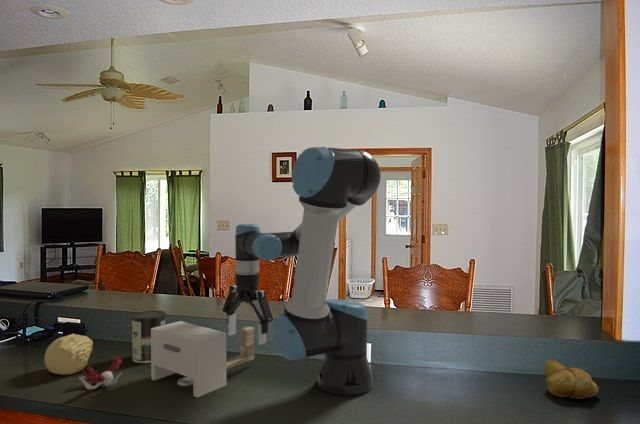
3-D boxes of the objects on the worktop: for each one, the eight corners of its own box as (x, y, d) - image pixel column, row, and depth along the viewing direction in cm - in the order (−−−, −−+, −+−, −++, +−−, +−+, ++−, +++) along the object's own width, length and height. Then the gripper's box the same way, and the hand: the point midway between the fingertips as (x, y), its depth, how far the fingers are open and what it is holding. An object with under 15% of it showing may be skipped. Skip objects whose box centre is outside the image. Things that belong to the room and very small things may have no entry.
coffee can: (172, 353, 154) (172, 311, 154) (155, 364, 144) (154, 319, 144) (144, 351, 156) (143, 309, 156) (125, 362, 146) (124, 317, 146)
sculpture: (73, 380, 132) (73, 342, 132) (35, 377, 134) (35, 340, 134) (99, 365, 143) (98, 330, 143) (63, 363, 145) (63, 328, 145)
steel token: (199, 381, 131) (199, 378, 131) (187, 388, 127) (187, 384, 127) (186, 379, 134) (186, 375, 134) (173, 385, 129) (173, 381, 129)
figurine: (96, 374, 136) (96, 352, 136) (134, 376, 135) (134, 353, 135) (62, 396, 121) (62, 371, 121) (105, 399, 120) (104, 373, 120)
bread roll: (594, 391, 126) (595, 361, 126) (603, 406, 117) (604, 374, 116) (542, 384, 130) (542, 356, 130) (547, 399, 121) (547, 368, 120)
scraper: (259, 360, 148) (259, 329, 148) (215, 378, 133) (215, 343, 133) (242, 355, 153) (242, 324, 152) (197, 372, 138) (196, 338, 138)
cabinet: (226, 385, 129) (226, 332, 128) (194, 398, 120) (194, 342, 120) (180, 368, 141) (180, 320, 140) (148, 380, 132) (148, 329, 131)
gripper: (285, 276, 144) (284, 344, 145) (229, 266, 159) (228, 328, 160) (268, 279, 138) (267, 350, 139) (211, 269, 153) (211, 333, 154)
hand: (246, 338), depth 149 cm, fingers open, 13 cm apart
